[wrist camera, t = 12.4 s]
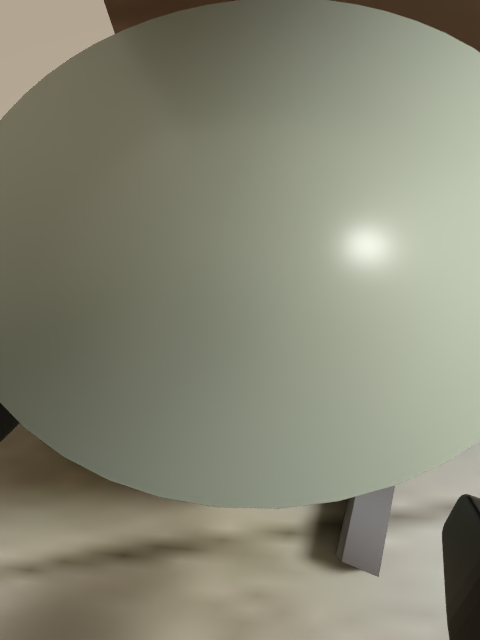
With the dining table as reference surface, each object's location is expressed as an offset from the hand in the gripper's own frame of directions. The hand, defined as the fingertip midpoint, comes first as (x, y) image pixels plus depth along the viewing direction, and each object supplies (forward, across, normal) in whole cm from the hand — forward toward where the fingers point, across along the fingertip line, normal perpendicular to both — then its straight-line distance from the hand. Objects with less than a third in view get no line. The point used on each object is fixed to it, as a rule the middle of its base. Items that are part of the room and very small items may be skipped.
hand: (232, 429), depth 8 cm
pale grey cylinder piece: (+7, 0, +4) cm, 8 cm away
